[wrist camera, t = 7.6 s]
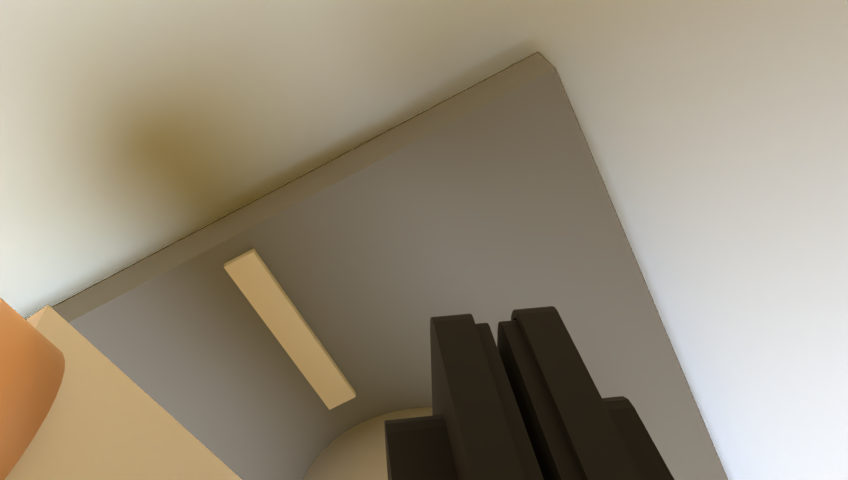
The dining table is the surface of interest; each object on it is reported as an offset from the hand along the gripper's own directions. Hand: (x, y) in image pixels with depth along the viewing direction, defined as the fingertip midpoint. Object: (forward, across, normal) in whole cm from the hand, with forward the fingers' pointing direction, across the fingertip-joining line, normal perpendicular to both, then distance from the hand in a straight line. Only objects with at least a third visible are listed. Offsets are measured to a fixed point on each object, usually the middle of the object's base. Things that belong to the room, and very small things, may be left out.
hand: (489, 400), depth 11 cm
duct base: (+10, 0, +10) cm, 14 cm away
